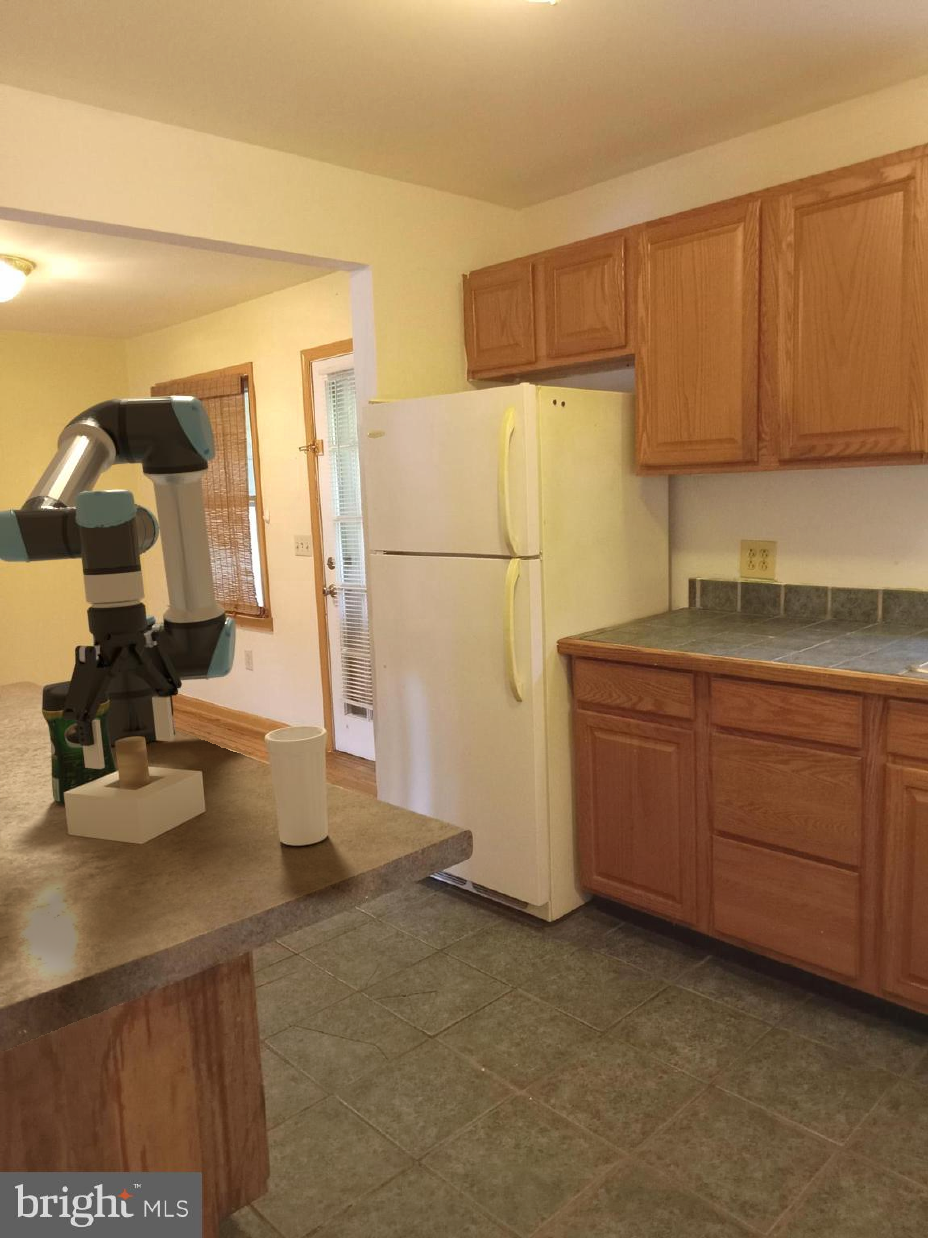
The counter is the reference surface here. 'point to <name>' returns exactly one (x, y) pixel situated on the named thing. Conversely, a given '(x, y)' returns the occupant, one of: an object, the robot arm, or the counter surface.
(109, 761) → the coffee jar
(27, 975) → the counter surface
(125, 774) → the dowel
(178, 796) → the socket block
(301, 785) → the cup
